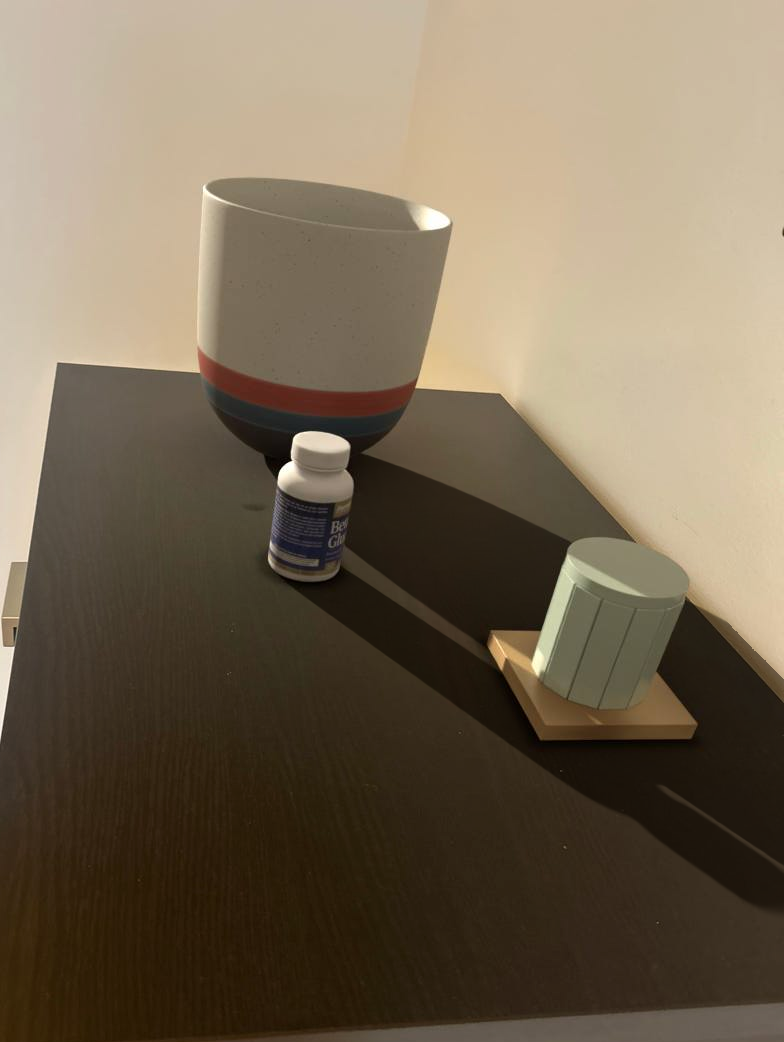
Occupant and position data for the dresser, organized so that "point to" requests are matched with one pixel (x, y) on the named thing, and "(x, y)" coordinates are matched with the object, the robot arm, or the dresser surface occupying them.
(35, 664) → the dresser surface
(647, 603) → the cup
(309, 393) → the planter
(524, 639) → the peg stand
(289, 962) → the dresser surface
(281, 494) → the pill bottle
